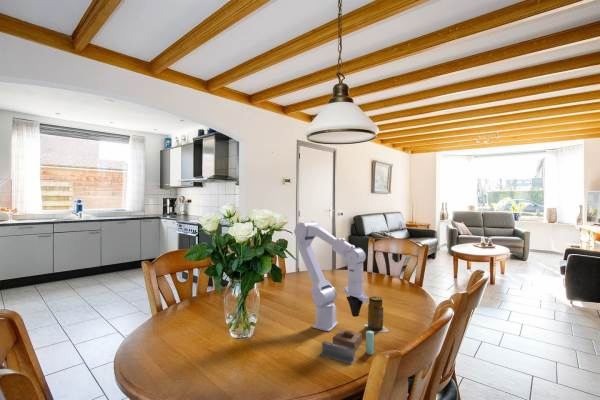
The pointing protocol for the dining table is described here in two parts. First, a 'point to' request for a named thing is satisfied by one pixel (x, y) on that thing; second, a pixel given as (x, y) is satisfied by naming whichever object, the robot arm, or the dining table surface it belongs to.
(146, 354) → the dining table surface
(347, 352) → the wall
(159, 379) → the dining table surface
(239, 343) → the dining table surface
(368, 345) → the dowel
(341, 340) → the brown hollow block
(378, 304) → the condiment
